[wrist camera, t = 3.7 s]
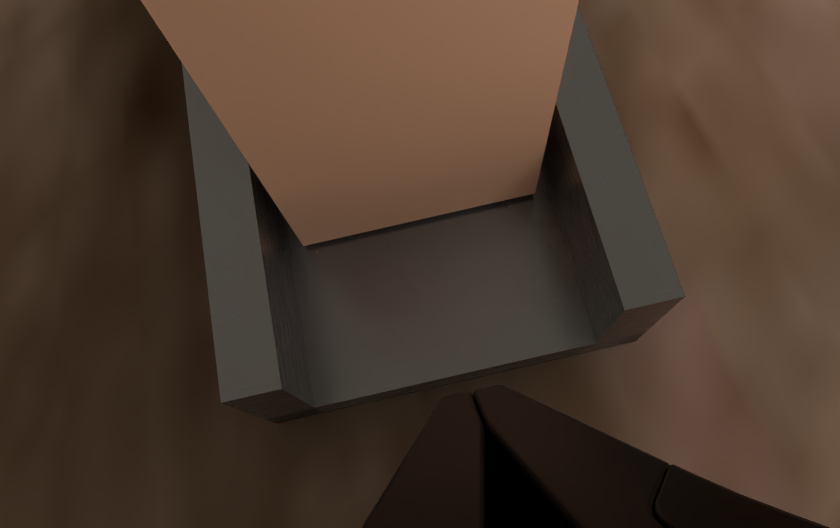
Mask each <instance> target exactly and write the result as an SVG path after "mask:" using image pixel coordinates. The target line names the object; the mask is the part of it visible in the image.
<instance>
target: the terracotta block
mask: <svg viewBox="0 0 840 528" xmlns="http://www.w3.org/2000/svg"><path fill="white" fill-rule="evenodd" d="M141 2H142V3H143V5H144V6H145V8H146V9H147V11H148V12H149V14H150V15H151V17H152V18H153V20H154V21H155V23H156V24H157V26H158V27H159V29H160V30H161V32H162V33H163V35H164V36H165V38H166V39H167V41H168V42H169V44H170V45H171V47H172V48H173V50H174V51H175V53H176V54H177V56H178V57H179V59H180V60H181V62H182V63H183V65H184V66H185V68H186V70H187V71H188V73H189V74H190V76H191V77H192V79H193V80H194V82H195V83H196V85H197V86H198V88H199V89H200V91H201V92H202V94H203V95H204V97H205V98H206V100H207V101H208V103H209V104H210V106H211V107H212V109H213V110H214V112H215V113H216V115H217V116H218V118H219V119H220V121H221V122H222V124H223V125H224V127H225V128H226V130H227V131H228V133H229V134H230V136H231V137H232V139H233V141H234V142H235V144H236V145H237V147H238V148H239V150H240V151H241V153H242V154H243V156H244V157H245V159H246V160H247V162H248V163H249V165H250V166H251V168H252V169H253V171H254V172H255V174H256V175H257V177H258V178H259V180H260V181H261V183H262V184H263V186H264V187H265V189H266V190H267V192H268V193H269V195H270V196H271V198H272V199H273V201H274V202H275V204H276V205H277V207H278V208H279V210H280V212H281V213H282V215H283V216H284V218H285V219H286V221H287V222H288V224H289V225H290V227H291V228H292V230H293V231H294V233H295V234H296V236H297V237H298V239H299V240H300V242H301V243H302V245H303V246H306V245H310V244H315V243H319V242H324V241H328V240H332V239H337V238H341V237H346V236H350V235H354V234H359V233H363V232H368V231H372V230H376V229H381V228H385V227H390V226H394V225H398V224H403V223H407V222H411V221H416V220H420V219H425V218H429V217H433V216H438V215H442V214H447V213H451V212H455V211H460V210H464V209H469V208H473V207H477V206H482V205H486V204H491V203H495V202H499V201H504V200H508V199H513V198H517V197H521V196H526V195H530V194H535V191H536V187H537V183H538V178H539V174H540V169H541V165H542V161H543V156H544V152H545V147H546V143H547V139H548V134H549V130H550V125H551V121H552V117H553V112H554V108H555V104H556V99H557V95H558V90H559V86H560V82H561V77H562V73H563V68H564V64H565V60H566V55H567V51H568V46H569V42H570V38H571V33H572V29H573V24H574V20H575V16H576V11H577V7H578V3H579V0H141Z"/></svg>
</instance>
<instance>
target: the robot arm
mask: <svg viewBox="0 0 840 528" xmlns="http://www.w3.org/2000/svg"><path fill="white" fill-rule="evenodd" d="M362 528H829V527H827V526H824V525H821V524H818V523H816V522H813V521H810V520H807V519H804V518H802V517H799V516H796V515H793V514H791V513H788V512H785V511H783V510H780V509H778V508H775V507H772V506H770V505H767V504H765V503H762V502H759V501H757V500H754V499H752V498H749V497H746V496H744V495H741V494H739V493H736V492H734V491H732V490H730V489H727V488H725V487H723V486H720V485H718V484H716V483H713V482H711V481H709V480H707V479H704V478H702V477H700V476H697V475H695V474H693V473H691V472H689V471H687V470H685V469H682V468H680V467H678V466H676V465H669V464H668V463H667V462H665V461H663V460H661V459H658V458H656V457H654V456H652V455H650V454H648V453H646V452H643V451H641V450H639V449H637V448H635V447H633V446H631V445H628V444H626V443H624V442H622V441H620V440H618V439H616V438H614V437H611V436H609V435H607V434H605V433H603V432H601V431H599V430H596V429H594V428H592V427H590V426H588V425H586V424H584V423H581V422H579V421H577V420H575V419H573V418H571V417H569V416H567V415H564V414H562V413H560V412H558V411H556V410H554V409H552V408H549V407H547V406H545V405H543V404H541V403H539V402H537V401H534V400H532V399H530V398H528V397H526V396H524V395H522V394H519V393H517V392H515V391H513V390H511V389H509V388H507V387H505V386H502V385H494V386H490V387H485V388H481V389H477V390H475V391H474V392H473V396H472V394H471V393H470V392H463V393H458V394H453V395H449V396H445V397H443V398H442V399H441V400H440V402H439V404H438V405H437V407H436V409H435V410H434V412H433V413H432V415H431V417H430V418H429V420H428V421H427V423H426V425H425V426H424V428H423V430H422V431H421V433H420V434H419V436H418V438H417V439H416V441H415V442H414V444H413V446H412V447H411V449H410V451H409V452H408V454H407V455H406V457H405V459H404V460H403V462H402V463H401V465H400V467H399V468H398V470H397V472H396V473H395V475H394V476H393V478H392V480H391V481H390V483H389V484H388V486H387V488H386V489H385V491H384V493H383V494H382V496H381V497H380V499H379V501H378V502H377V504H376V505H375V507H374V509H373V510H372V512H371V514H370V515H369V517H368V518H367V520H366V522H365V523H364V525H363V526H362Z"/></svg>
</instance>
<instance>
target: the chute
mask: <svg viewBox="0 0 840 528" xmlns="http://www.w3.org/2000/svg"><path fill="white" fill-rule="evenodd" d="M182 70H183V79H184V88H185V96H186V105H187V114H188V122H189V131H190V140H191V148H192V157H193V166H194V174H195V183H196V192H197V200H198V209H199V218H200V226H201V235H202V244H203V253H204V261H205V270H206V279H207V287H208V296H209V305H210V313H211V322H212V331H213V339H214V348H215V357H216V365H217V374H218V383H219V392H220V400H221V403H223V404H225V405H228V406H231V407H234V408H236V409H239V410H242V411H244V412H247V413H250V414H253V415H255V416H258V417H261V418H264V419H266V420H269V421H272V422H274V423H280V422H284V421H289V420H293V419H297V418H302V417H306V416H311V415H315V414H319V413H324V412H328V411H332V410H337V409H341V408H345V407H350V406H354V405H358V404H363V403H367V402H372V401H376V400H380V399H385V398H389V397H393V396H398V395H402V394H406V393H411V392H415V391H419V390H424V389H428V388H433V387H437V386H441V385H446V384H450V383H454V382H459V381H463V380H467V379H472V378H476V377H480V376H485V375H489V374H494V373H498V372H502V371H507V370H511V369H515V368H520V367H524V366H528V365H533V364H537V363H541V362H546V361H550V360H555V359H559V358H563V357H568V356H572V355H576V354H581V353H585V352H589V351H594V350H598V349H602V348H607V347H611V346H616V345H620V344H624V343H629V342H633V341H636V340H637V339H638V338H639V337H641V336H642V335H643V334H644V333H645V332H646V331H647V330H648V329H649V328H651V327H652V326H653V325H654V324H655V323H656V322H657V321H658V320H659V319H661V318H662V317H663V316H664V315H665V314H666V313H667V312H668V311H669V310H670V309H672V308H673V307H674V306H675V305H676V304H677V303H678V302H679V301H680V300H682V299H683V298H684V297H685V295H684V293H683V290H682V287H681V284H680V282H679V279H678V276H677V273H676V271H675V268H674V265H673V263H672V260H671V257H670V254H669V252H668V249H667V246H666V244H665V241H664V238H663V235H662V233H661V230H660V227H659V224H658V222H657V219H656V216H655V214H654V211H653V208H652V205H651V203H650V200H649V197H648V194H647V192H646V189H645V186H644V184H643V181H642V178H641V175H640V173H639V170H638V167H637V164H636V162H635V159H634V156H633V154H632V151H631V148H630V145H629V143H628V140H627V137H626V134H625V132H624V129H623V126H622V124H621V121H620V118H619V115H618V113H617V110H616V107H615V105H614V102H613V99H612V96H611V94H610V91H609V88H608V85H607V83H606V80H605V77H604V75H603V72H602V69H601V66H600V64H599V61H598V58H597V55H596V53H595V50H594V47H593V45H592V42H591V39H590V36H589V34H588V31H587V28H586V25H585V23H584V20H583V17H582V15H581V12H580V9H579V6H578V7H577V11H576V16H575V20H574V24H573V29H572V33H571V38H570V42H569V46H568V51H567V55H566V60H565V64H564V68H563V73H562V77H561V82H560V86H559V90H558V95H557V99H556V104H555V108H554V112H553V117H552V121H551V125H550V130H549V134H548V139H547V143H546V147H545V152H544V156H543V161H542V165H541V169H540V174H539V178H538V183H537V187H536V191H535V194H530V195H526V196H521V197H517V198H513V199H508V200H504V201H499V202H495V203H491V204H486V205H482V206H477V207H473V208H469V209H464V210H460V211H455V212H451V213H447V214H442V215H438V216H433V217H429V218H425V219H420V220H416V221H411V222H407V223H403V224H398V225H394V226H390V227H385V228H381V229H376V230H372V231H368V232H363V233H359V234H354V235H350V236H346V237H341V238H337V239H332V240H328V241H324V242H319V243H315V244H310V245H306V246H303V245H302V243H301V242H300V240H299V239H298V237H297V236H296V234H295V233H294V231H293V230H292V228H291V227H290V225H289V224H288V222H287V221H286V219H285V218H284V216H283V215H282V213H281V212H280V210H279V208H278V207H277V205H276V204H275V202H274V201H273V199H272V198H271V196H270V195H269V193H268V192H267V190H266V189H265V187H264V186H263V184H262V183H261V181H260V180H259V178H258V177H257V175H256V174H255V172H254V171H253V169H252V168H251V166H250V165H249V163H248V162H247V160H246V159H245V157H244V156H243V154H242V153H241V151H240V150H239V148H238V147H237V145H236V144H235V142H234V141H233V139H232V137H231V136H230V134H229V133H228V131H227V130H226V128H225V127H224V125H223V124H222V122H221V121H220V119H219V118H218V116H217V115H216V113H215V112H214V110H213V109H212V107H211V106H210V104H209V103H208V101H207V100H206V98H205V97H204V95H203V94H202V92H201V91H200V89H199V88H198V86H197V85H196V83H195V82H194V80H193V79H192V77H191V76H190V74H189V73H188V71H187V70H186V68H185V66H184V65H183V63H182Z"/></svg>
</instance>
